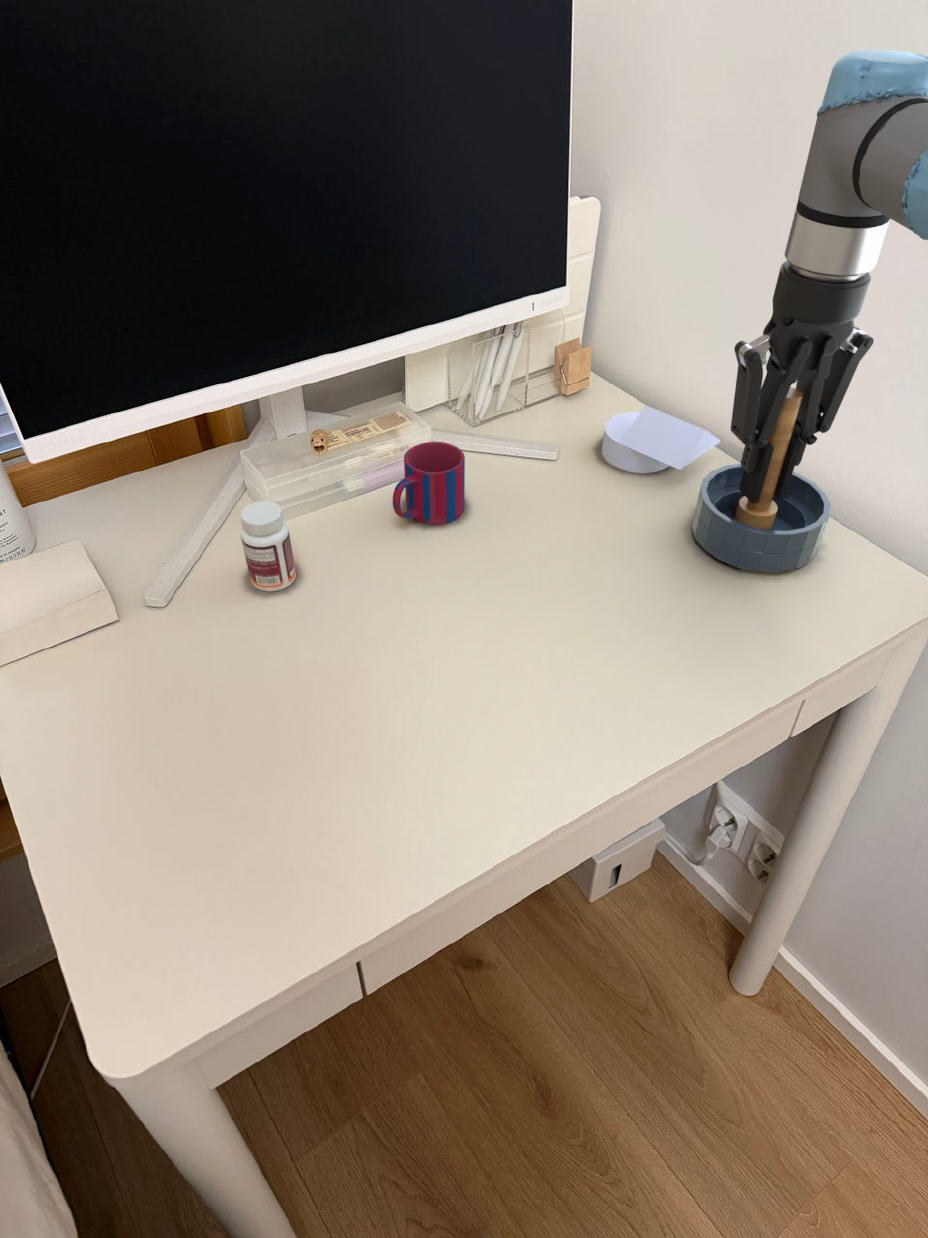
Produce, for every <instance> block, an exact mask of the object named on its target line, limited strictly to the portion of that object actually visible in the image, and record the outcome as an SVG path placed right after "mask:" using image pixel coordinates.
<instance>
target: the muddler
mask: <svg viewBox="0 0 928 1238" xmlns="http://www.w3.org/2000/svg"><path fill="white" fill-rule="evenodd" d="M802 398H803V393H802V392H801V391H800V390H798V389H796V387H792V386H791V387H790V389H789V392H788V394H787V397H786V399H785V402H784V404H783V407H782V409H781V412H780V415H779V417H778V420H777V422H776V425H775V427H774V430H773V432H772V435H771V437H770V440H769V443H770V444H771V445H772V446H773V447H774V450H773V453H772V457H771V460H770V464H769V467H768V471H767V474H766V478H765V481H764V485H763V488H762V492H761V495H760V499H759V502H758V503H751V502H750V501H749V500H748V499H747V498H746V496H744V497H742V498H741V499H740V501H739V504H738V508H737V511H736V515H735V519H734V521H737V522H739V523H742V524H744V525H747V526H749V527H754V528H759V529H764V530H772V527H773V523H774V520H775V517H776V513H777V510H778V507H777V504H776V503H775V502H774V501H773V500H772V499H773V496H774V492H775V489H776V486H777V482H778V479H779V476H780V472H781V469H782V466H783V462H784V459H785V455H786V452H787V449H788V445H789V442H790V439H791V435H792V432H793V429H794V425H795V422H796V418H797V415H798V412H799V408H800V405H801V402H802Z"/></svg>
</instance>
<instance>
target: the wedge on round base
mask: <svg viewBox="0 0 928 1238" xmlns="http://www.w3.org/2000/svg"><path fill="white" fill-rule="evenodd" d="M721 442H722V440H720V439H719V438H718V437H716V436H715V435H714V434H713V433H711V432H710V431H709V430H707V429H705V428H702V427H700V426H697V425H695V424H693V423H690V422H688V421H685V420H683V419H680V418H678V417H676V416H673V415H671V414H668V413H666V412H663V411H661V410H658V409H656V408H654V407H652V406H648V405H646V404H645V405H644V406H643V408H642V410H641V411H627V412H621V413H618V414H615V415H613V416H612V417H610V418H609V419H607V421H606V422H605V424H604V430H603V438H602V445H601V455H602V457H603V459H604V460H605V461H606V462H607V463H608V464H610V465H611V466H613V467H615V468H616V469H619V470H621V471H625V472H630V473H635V474H636V473H637V474H650V473H657V472H660V471H663V470H665V469H667V468H668V467H672V468H674V469H676V470H678V471H681V470H683V469H684V468H685V467H686V466H688V465H690V464H691V463H693V462H694V461H695V460H697V459H698V458H700V457H701V456H702V455H704V454H705V453H707V452H708V451H710V450H711V449H713V448H714V447H715V446H717V445H718V444H719V443H721Z"/></svg>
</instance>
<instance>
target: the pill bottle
mask: <svg viewBox="0 0 928 1238" xmlns="http://www.w3.org/2000/svg"><path fill="white" fill-rule="evenodd" d="M239 516H240V521H241V526H242V528H241V531H240V540H241V544H242V548H243V551H244V553H243V554H244V557H245V562H246V566H247V571H248V576H249V579H250V582H251V584H252V586H254V588H255V589H257V590H259V591H263V592H276V591H281V590H284V589H285V588H287V587H289V586H291V585H292V584H293V583H294V581H295V580H296V576H297V572H296V571H297V570H296V564H295V559H294V553H293V547H292V542H291V541H292V540H291V534H290V529H289V525H288V524H287V523H286V521H284V516H283V511H282V508H281V506H280V505H279V504H277V503H276V502H273V501H270V500H260V501H255V502H251V503H249V504H247V505H246V506H244V507H243V508H242V510H241V511H240V515H239Z"/></svg>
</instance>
